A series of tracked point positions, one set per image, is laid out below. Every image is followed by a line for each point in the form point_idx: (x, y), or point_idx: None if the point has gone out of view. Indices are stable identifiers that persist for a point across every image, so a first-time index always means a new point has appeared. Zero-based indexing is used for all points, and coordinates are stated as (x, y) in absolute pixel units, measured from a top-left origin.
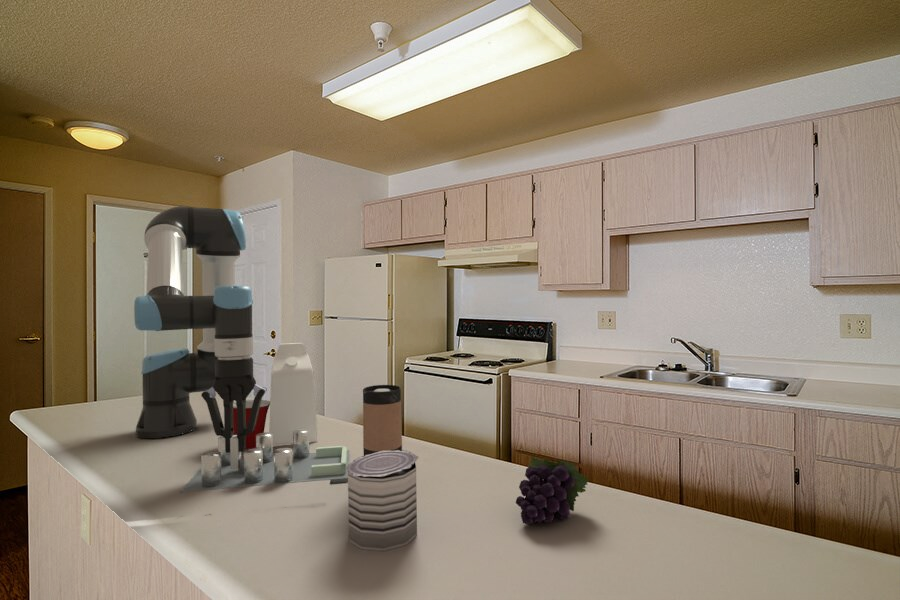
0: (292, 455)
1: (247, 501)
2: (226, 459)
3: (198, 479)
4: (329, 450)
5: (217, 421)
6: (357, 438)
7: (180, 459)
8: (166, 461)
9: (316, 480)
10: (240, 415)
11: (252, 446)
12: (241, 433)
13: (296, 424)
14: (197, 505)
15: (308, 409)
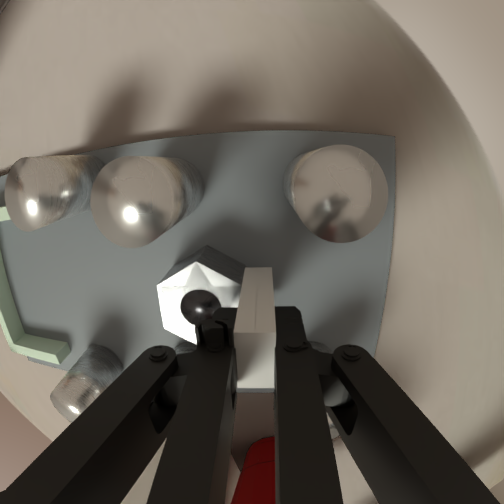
0: None
1: (166, 60)
2: None
3: (369, 236)
4: (35, 345)
5: (377, 409)
6: (62, 427)
7: (422, 404)
8: (446, 393)
9: None
10: (186, 445)
11: (262, 446)
12: (207, 351)
13: (145, 479)
14: (309, 54)
15: None
